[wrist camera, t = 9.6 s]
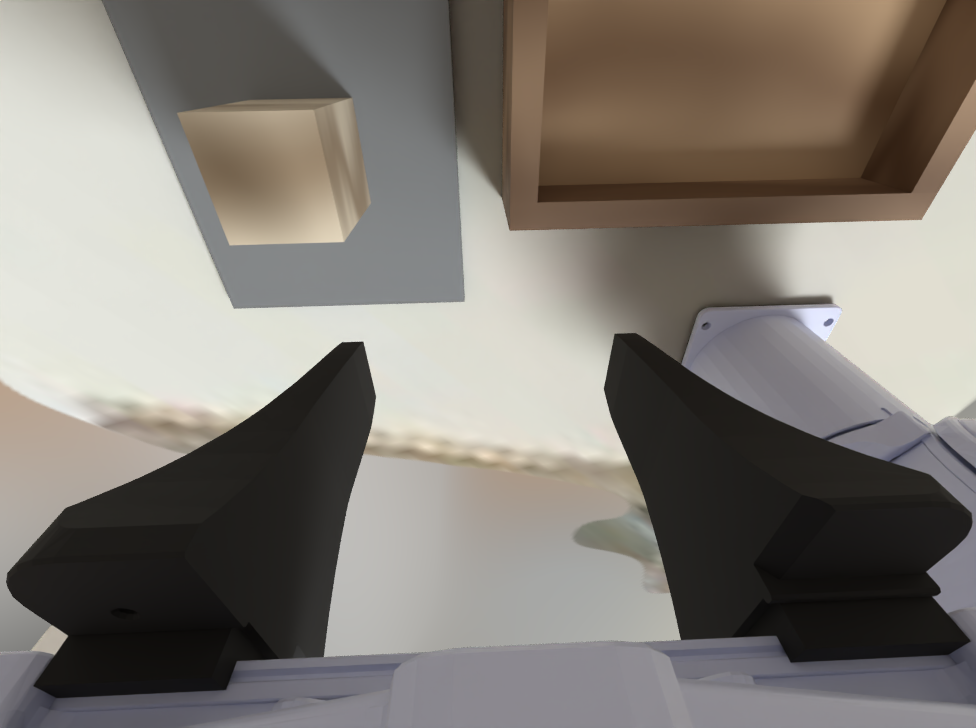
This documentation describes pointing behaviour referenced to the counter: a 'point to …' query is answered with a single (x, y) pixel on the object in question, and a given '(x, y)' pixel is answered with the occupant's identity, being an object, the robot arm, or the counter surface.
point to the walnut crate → (732, 110)
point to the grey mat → (308, 75)
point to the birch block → (281, 168)
